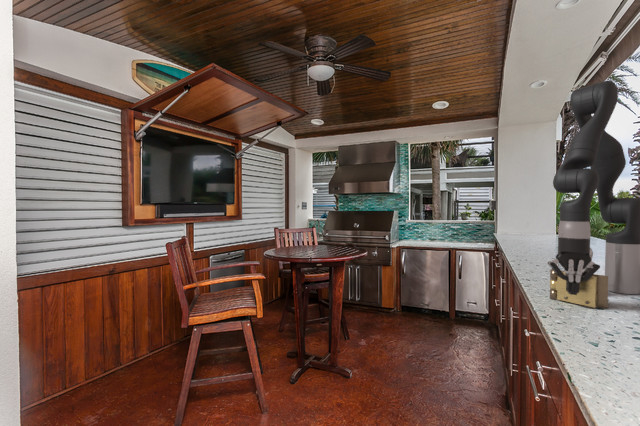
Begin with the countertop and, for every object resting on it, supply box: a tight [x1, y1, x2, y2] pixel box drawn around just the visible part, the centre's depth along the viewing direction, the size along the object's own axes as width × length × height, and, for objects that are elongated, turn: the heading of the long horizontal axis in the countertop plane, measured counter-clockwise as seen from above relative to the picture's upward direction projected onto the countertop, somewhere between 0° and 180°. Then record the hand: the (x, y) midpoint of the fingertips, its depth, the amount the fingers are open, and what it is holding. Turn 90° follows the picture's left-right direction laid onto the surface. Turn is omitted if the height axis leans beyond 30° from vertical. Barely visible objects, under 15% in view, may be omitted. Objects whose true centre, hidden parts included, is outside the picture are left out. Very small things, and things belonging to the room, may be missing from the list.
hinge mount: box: [549, 268, 610, 309], centre depth 104 cm, size 8×14×10 cm, turn 46°
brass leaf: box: [549, 272, 597, 308], centre depth 101 cm, size 12×3×9 cm, turn 30°
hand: (572, 294), depth 97 cm, fingers closed
